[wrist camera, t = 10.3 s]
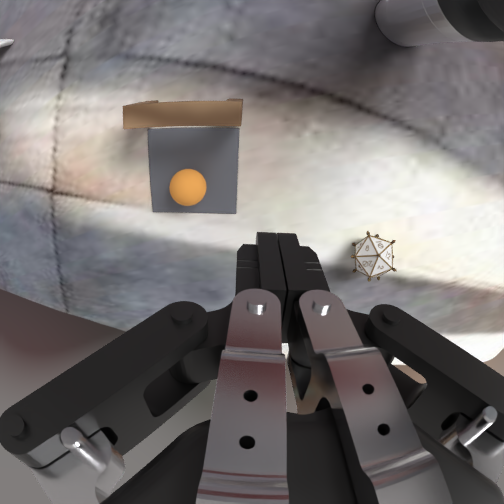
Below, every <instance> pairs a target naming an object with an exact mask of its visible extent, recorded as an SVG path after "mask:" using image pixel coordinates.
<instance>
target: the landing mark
mask: <svg viewBox="0 0 504 504" xmlns="http://www.w3.org/2000/svg"><path fill="white" fill-rule="evenodd" d="M148 148H149V167H150V182H151V195H152V207H153V212H191V213H229V214H236V200H237V173H238V148H239V128H162V129H148ZM183 169H193V170H196V171H198V172H199V173H201V174H202V175H203V177H204V179H205V181H206V193H205V195H204V197H203V199H202V200H201V201H200V202H198V203H197V204H195V205H191V206H184V205H181V204H178V203H177V202H176V201H175V200H174V199H173V198H172V196H171V194H170V189H169V186H170V181H171V179H172V177H173V176H174V175H175V174H176V173H177V172H179V171H181V170H183Z"/></svg>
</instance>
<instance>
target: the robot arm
mask: <svg viewBox="0 0 504 504" xmlns="http://www.w3.org/2000/svg"><path fill="white" fill-rule="evenodd" d="M375 18H376V22H377V25H378V27H379V29H380V30H381V32H382V33H383V34H384V35H385V36H386V37H387V38H388V39H389V40H390V41H392V42H393V43H395V44H398V45H400V46H405V47H410V46H418V45H428V44H439V43H453V42H494V41H504V0H381V1H380V2H379V3H378V4H377V6H376V9H375ZM282 343H288V346H289V352H288V357H287V364H288V368H289V373H290V378H291V382H292V387H293V391H294V396H295V400H296V405H297V414H296V413H290V412H286V364H285V355H284V354H282ZM394 357H396V358H397V359H399V360H400V361H402V362H403V363H405V364H406V365H408V366H409V367H411V368H412V369H413V370H415V371H416V372H418V373H419V374H421V375H422V376H423V377H424V378H425V379H426V382H427V383H424V384H420V383H418V382H416V381H415V380H413V379H412V378H410V377H409V376H408V375H406V374H405V373H403V372H402V371H400V370H399V369H398V368H396V367H395V366H393V365H392V364H391V363H392V361H393V359H394ZM213 379H217V384H216V391H215V396H214V403H213V409H212V415H211V419H210V420H207V421H204V422H202V423H199V424H197V425H195V426H193V427H191V428H189V429H188V430H187V431H185V432H183V433H182V434H181V435H179V436H178V437H177V438H176V439H175V440H174V441H173V442H172V443H171V444H170V445H169V446H167V447H166V448H165V449H164V450H163V451H162V452H161V453H160V454H158V455H157V456H156V457H155V458H154V459H153V460H152V461H151V462H150V463H148V464H147V465H146V466H145V467H144V468H143V469H141V470H140V471H139V472H138V473H137V474H135V475H134V476H133V477H132V478H131V479H129V480H128V481H127V482H126V483H125V484H123V485H122V486H121V487H120V488H119V489H117V490H116V491H115V492H114V493H112V490H113V487H114V486H115V484H117V482H118V481H119V480H120V479H121V478H122V476H123V474H124V471H125V463H124V459H123V457H122V456H123V455H124V454H126V453H127V452H128V451H129V450H131V449H132V448H133V447H135V446H136V445H137V444H139V443H140V442H141V441H142V440H144V439H145V438H146V437H147V436H149V435H150V434H151V433H152V432H154V431H155V430H156V429H157V428H159V427H160V426H161V425H162V424H163V423H165V422H166V421H167V420H168V419H169V418H171V417H172V416H173V415H174V414H175V413H177V412H178V411H179V410H180V409H181V408H183V407H184V406H185V405H186V404H187V403H188V402H190V401H191V400H192V399H193V398H194V397H195V396H197V395H198V394H199V393H200V392H201V391H202V390H203V389H205V388H206V387H207V386H208V384H209V383H210V381H211V380H213ZM0 443H1V445H2V446H3V447H4V448H5V449H6V450H7V451H9V452H10V453H11V454H12V455H14V456H15V457H16V458H18V459H19V460H20V461H21V462H22V463H23V464H24V465H26V466H27V467H28V468H29V469H30V470H31V471H32V473H33V475H34V476H35V478H36V479H37V481H38V483H39V484H40V486H41V487H42V489H43V490H44V492H45V494H46V495H47V497H48V498H49V499H50V501H51V502H52V504H504V496H503V494H502V492H501V490H500V488H499V487H498V486H497V484H496V483H497V481H498V479H499V476H500V474H501V471H502V469H503V466H504V377H503V376H502V375H500V374H499V373H497V372H496V371H495V370H493V369H491V368H490V367H488V366H487V365H486V364H484V363H483V362H481V361H480V360H478V359H477V358H475V357H474V356H472V355H471V354H469V353H468V352H466V351H465V350H463V349H462V348H460V347H459V346H457V345H456V344H454V343H453V342H451V341H449V340H448V339H446V338H445V337H443V336H442V335H440V334H439V333H437V332H436V331H434V330H432V329H431V328H429V327H428V326H426V325H425V324H423V323H422V322H420V321H418V320H417V319H415V318H414V317H412V316H411V315H409V314H407V313H406V312H404V311H403V310H401V309H399V308H397V307H395V306H392V305H387V304H381V305H377V306H375V307H374V308H372V310H371V311H370V314H369V315H367V314H363V313H358V312H354V311H350V310H348V309H346V308H345V306H344V304H343V302H342V300H341V299H340V298H339V297H338V296H336V295H335V294H333V293H331V292H330V290H329V287H328V284H327V281H326V278H325V276H324V273H323V270H322V267H321V265H320V264H319V259H318V257H317V254H316V253H315V252H314V251H313V250H312V249H311V248H310V247H308V246H300V245H299V242H298V239H297V235H296V234H294V233H277V234H276V233H268V232H257V235H256V245H253V244H243V245H242V246H241V247H240V248H239V250H238V251H237V270H236V294H235V297H234V299H233V301H232V302H231V303H230V304H229V305H228V306H226V307H224V308H222V309H219V310H216V311H211V312H206V311H205V309H204V308H203V307H201V306H200V305H198V304H196V303H193V302H188V301H180V302H175V303H172V304H169V305H167V306H166V307H164V308H163V309H161V310H160V311H158V312H156V313H155V314H153V315H152V316H150V317H149V318H147V319H146V320H144V321H142V322H141V323H139V324H138V325H136V326H135V327H133V328H132V329H130V330H129V331H127V332H125V333H124V334H122V335H121V336H119V337H118V338H116V339H115V340H113V341H112V342H110V343H108V344H107V345H105V346H104V347H102V348H101V349H99V350H98V351H96V352H95V353H93V354H91V355H90V356H88V357H87V358H85V359H84V360H82V361H81V362H79V363H78V364H76V365H74V366H73V367H71V368H70V369H68V370H67V371H65V372H64V373H62V374H61V375H59V376H57V377H56V378H54V379H53V380H51V381H50V382H48V383H47V384H45V385H44V386H42V387H41V388H39V389H37V390H36V391H34V392H33V393H31V394H30V395H28V396H27V397H25V398H24V399H22V400H20V401H19V402H17V403H16V404H14V405H13V406H11V407H10V408H8V409H7V410H6V411H5V412H4V413H3V414H2V416H1V417H0ZM111 493H112V494H111Z"/></svg>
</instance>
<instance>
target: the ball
mask: <svg viewBox="0 0 504 504" xmlns="http://www.w3.org/2000/svg"><path fill="white" fill-rule="evenodd" d="M169 189H170V194H171V196H172V198H173V199H174V200H175V201H176V202H177V203H178V204H181V205H184V206H191V205H195V204H197V203H198V202H200V201H201V200H202V199H203V197H204V195H205V193H206V181H205V179H204V177H203V175H202V174H201V173H199V172H198V171H196V170H193V169H183V170H181V171H179V172H177V173H176V174H175V175H174V176H173V177H172V179H171V181H170V186H169Z"/></svg>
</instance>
